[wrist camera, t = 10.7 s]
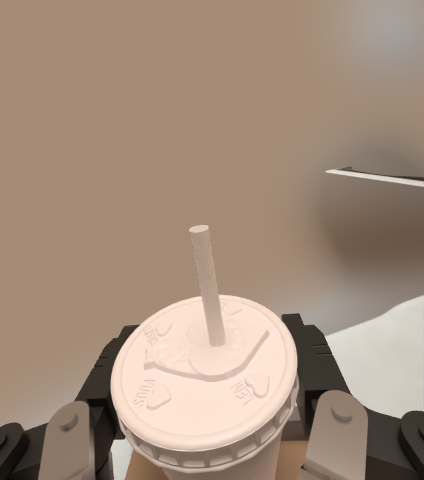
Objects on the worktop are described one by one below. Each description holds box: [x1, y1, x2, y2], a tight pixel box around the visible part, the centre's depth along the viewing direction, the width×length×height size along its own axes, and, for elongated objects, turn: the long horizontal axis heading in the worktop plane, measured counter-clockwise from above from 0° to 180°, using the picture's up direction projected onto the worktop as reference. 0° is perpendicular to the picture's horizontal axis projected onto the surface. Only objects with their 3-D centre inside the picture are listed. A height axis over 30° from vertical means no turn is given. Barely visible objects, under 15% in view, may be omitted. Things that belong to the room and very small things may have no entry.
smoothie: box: [111, 225, 299, 480], centre depth 10 cm, size 6×6×14 cm
